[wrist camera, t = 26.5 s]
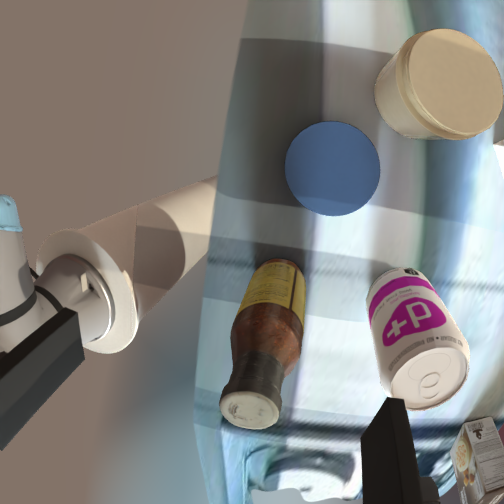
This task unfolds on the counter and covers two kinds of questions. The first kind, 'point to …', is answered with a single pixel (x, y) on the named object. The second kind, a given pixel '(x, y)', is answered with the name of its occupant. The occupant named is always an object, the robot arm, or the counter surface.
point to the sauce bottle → (265, 344)
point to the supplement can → (415, 340)
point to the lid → (332, 168)
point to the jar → (439, 87)
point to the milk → (500, 153)
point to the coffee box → (479, 463)
